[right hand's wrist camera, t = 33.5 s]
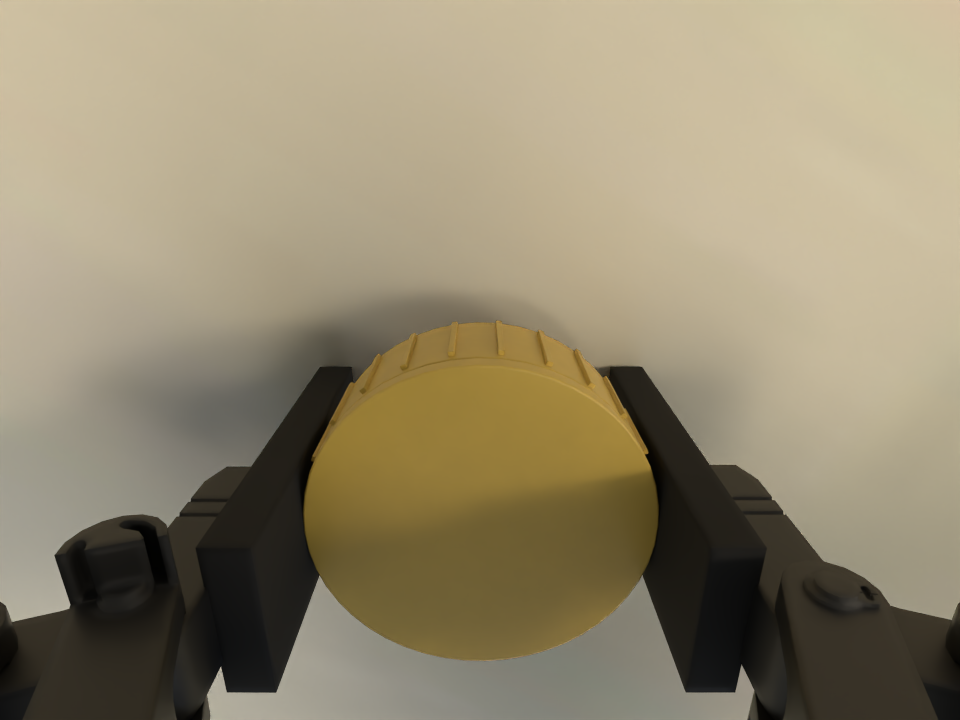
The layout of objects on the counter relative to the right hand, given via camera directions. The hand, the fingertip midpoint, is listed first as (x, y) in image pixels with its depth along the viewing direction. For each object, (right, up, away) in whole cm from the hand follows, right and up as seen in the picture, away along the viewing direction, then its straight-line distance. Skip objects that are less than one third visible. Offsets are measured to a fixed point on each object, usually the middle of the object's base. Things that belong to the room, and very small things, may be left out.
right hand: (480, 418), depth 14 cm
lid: (0, -1, -4) cm, 4 cm away
